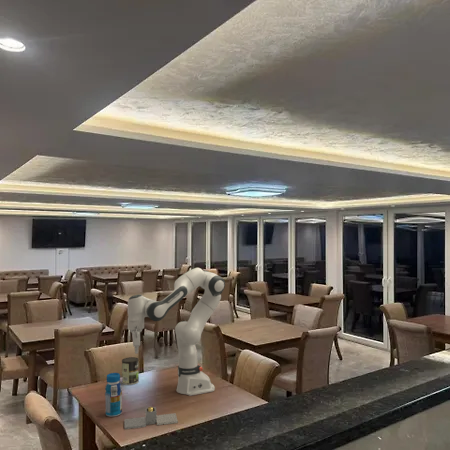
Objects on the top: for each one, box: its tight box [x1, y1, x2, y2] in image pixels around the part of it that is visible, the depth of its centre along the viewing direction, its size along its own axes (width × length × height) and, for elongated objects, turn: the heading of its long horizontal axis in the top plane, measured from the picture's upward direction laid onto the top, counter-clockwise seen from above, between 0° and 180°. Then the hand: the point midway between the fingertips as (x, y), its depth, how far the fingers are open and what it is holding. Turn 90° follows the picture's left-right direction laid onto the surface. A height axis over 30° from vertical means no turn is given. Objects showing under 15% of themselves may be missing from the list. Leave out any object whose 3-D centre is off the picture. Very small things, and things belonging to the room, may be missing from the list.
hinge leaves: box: [124, 406, 179, 430], centre depth 206 cm, size 25×9×6 cm, turn 103°
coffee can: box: [121, 356, 140, 386], centre depth 263 cm, size 10×10×14 cm
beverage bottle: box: [104, 372, 123, 418], centre depth 216 cm, size 8×8×20 cm
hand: (136, 350), depth 227 cm, fingers open, 8 cm apart
